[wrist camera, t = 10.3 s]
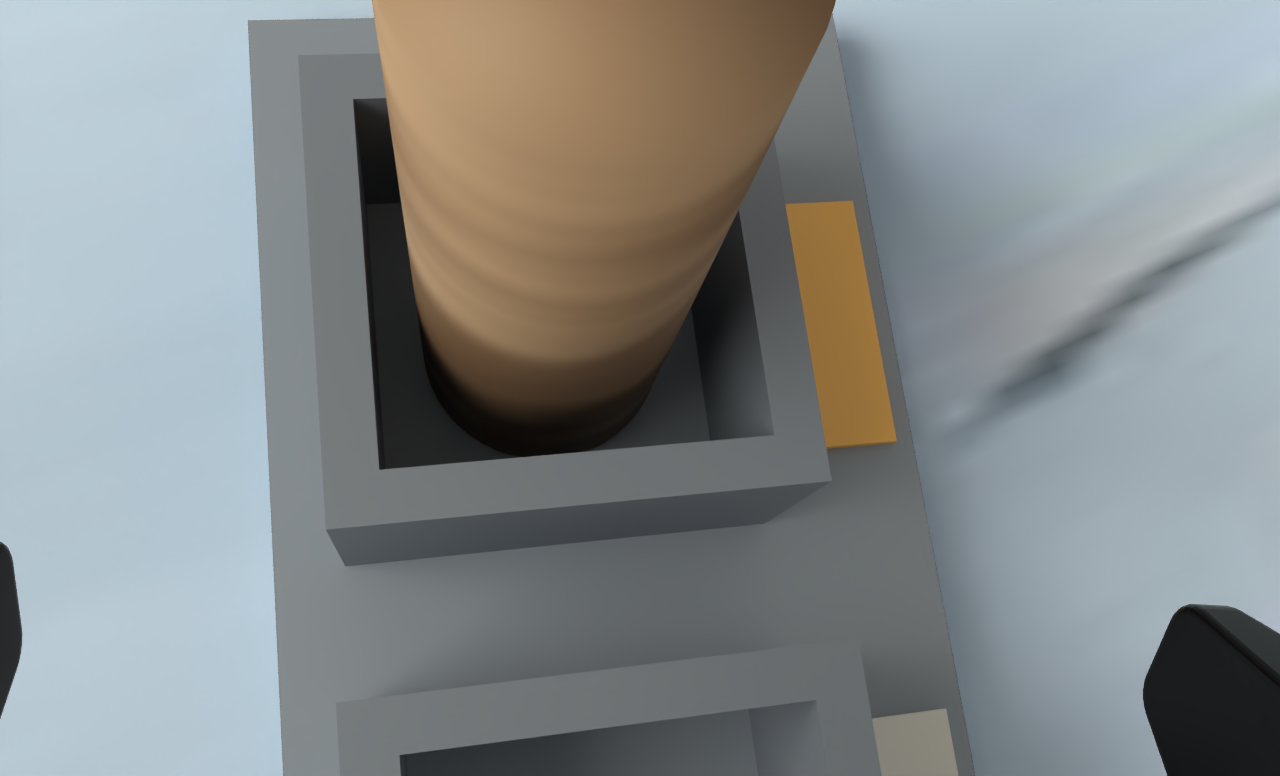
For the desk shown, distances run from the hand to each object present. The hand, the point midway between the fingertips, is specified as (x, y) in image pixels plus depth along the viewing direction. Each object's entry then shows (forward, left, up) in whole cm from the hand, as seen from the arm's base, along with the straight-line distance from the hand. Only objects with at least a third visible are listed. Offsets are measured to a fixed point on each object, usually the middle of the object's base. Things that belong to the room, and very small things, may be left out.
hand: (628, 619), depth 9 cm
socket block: (+2, -2, -13) cm, 14 cm away
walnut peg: (+6, -1, -12) cm, 14 cm away
